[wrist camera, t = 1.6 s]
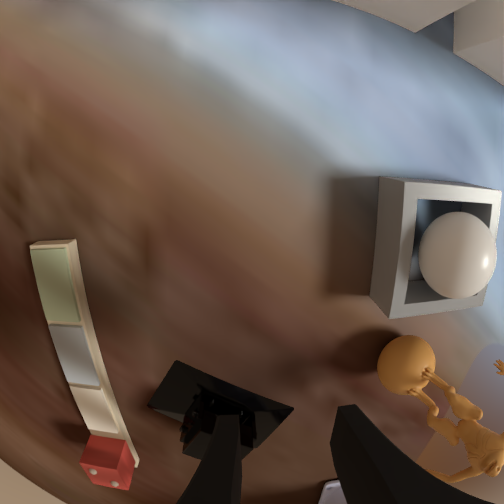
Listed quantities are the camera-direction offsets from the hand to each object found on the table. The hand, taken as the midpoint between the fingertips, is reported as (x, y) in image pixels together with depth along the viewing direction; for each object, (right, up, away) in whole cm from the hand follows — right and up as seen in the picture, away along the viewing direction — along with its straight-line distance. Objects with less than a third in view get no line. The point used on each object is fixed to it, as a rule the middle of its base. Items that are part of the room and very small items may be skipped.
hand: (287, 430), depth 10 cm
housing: (+9, +7, +8) cm, 14 cm away
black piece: (-4, -5, +12) cm, 14 cm away
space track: (-13, -3, +10) cm, 17 cm away
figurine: (+10, -1, +11) cm, 15 cm away
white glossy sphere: (+10, +6, +7) cm, 14 cm away
